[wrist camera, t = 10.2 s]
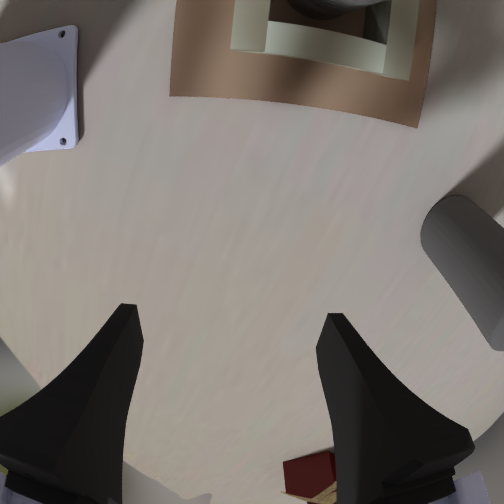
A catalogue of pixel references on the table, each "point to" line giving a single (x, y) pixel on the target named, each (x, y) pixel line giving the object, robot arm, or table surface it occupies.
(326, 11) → the peg
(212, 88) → the socket
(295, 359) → the table surface
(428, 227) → the bottle
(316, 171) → the table surface
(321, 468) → the toy houses
